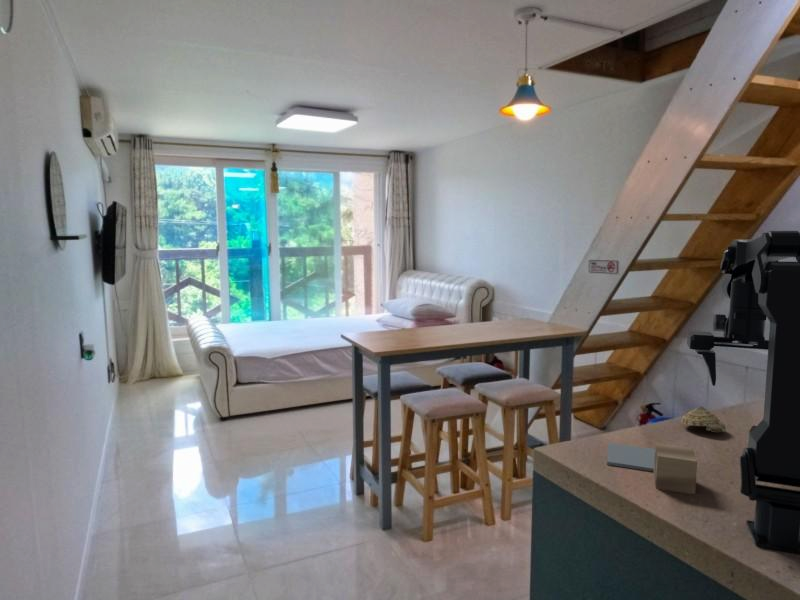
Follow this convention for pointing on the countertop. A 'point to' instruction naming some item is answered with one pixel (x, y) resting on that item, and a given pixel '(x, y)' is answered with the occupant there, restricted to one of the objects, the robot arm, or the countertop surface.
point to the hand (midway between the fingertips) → (741, 387)
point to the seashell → (703, 420)
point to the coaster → (631, 456)
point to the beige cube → (675, 468)
